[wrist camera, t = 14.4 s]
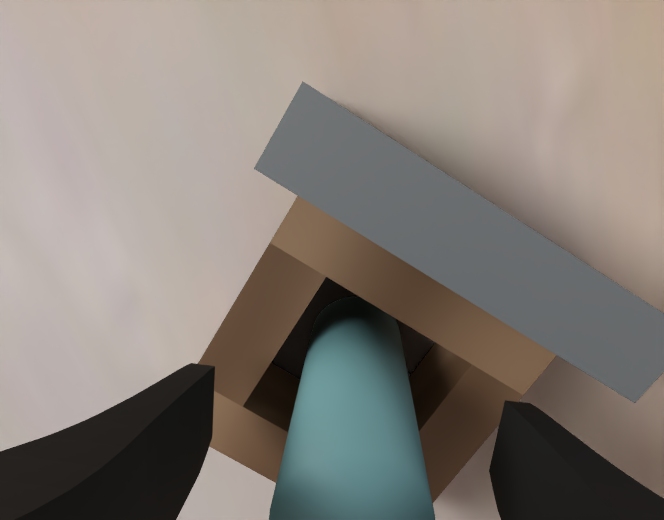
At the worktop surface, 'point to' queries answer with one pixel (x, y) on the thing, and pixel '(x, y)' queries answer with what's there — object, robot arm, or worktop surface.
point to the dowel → (353, 425)
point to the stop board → (464, 242)
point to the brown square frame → (393, 298)
